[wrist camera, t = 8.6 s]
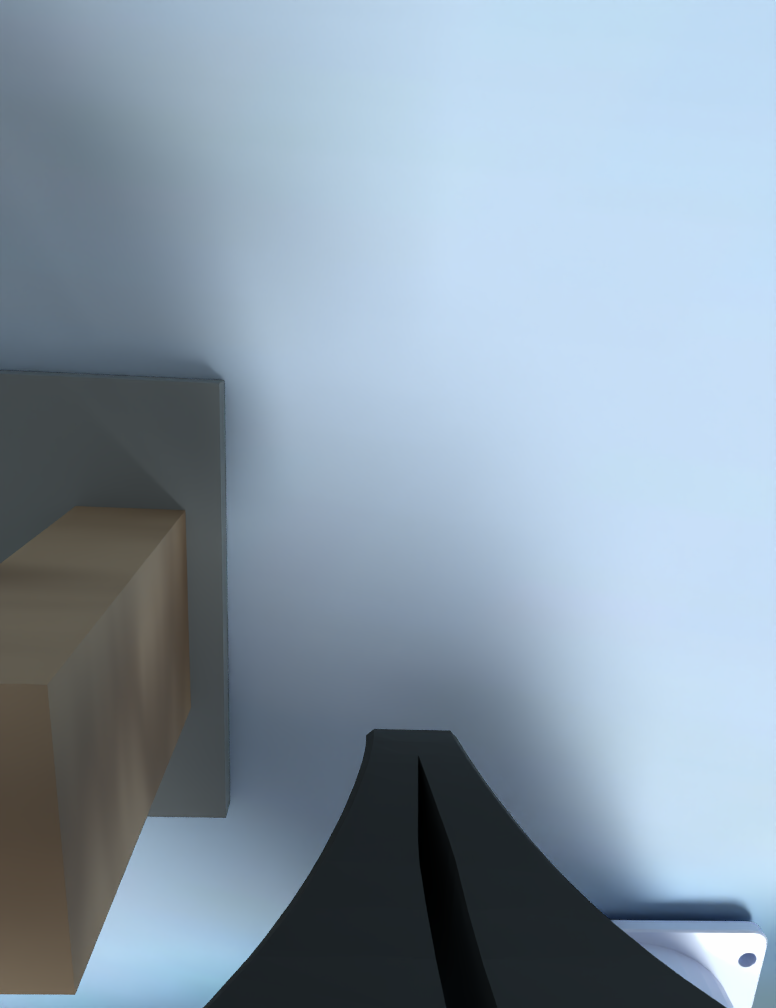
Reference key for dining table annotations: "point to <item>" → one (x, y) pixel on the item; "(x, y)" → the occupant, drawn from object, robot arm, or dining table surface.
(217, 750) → the mat
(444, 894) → the robot arm
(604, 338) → the dining table surface
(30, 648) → the slab
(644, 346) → the dining table surface
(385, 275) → the dining table surface
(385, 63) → the dining table surface
